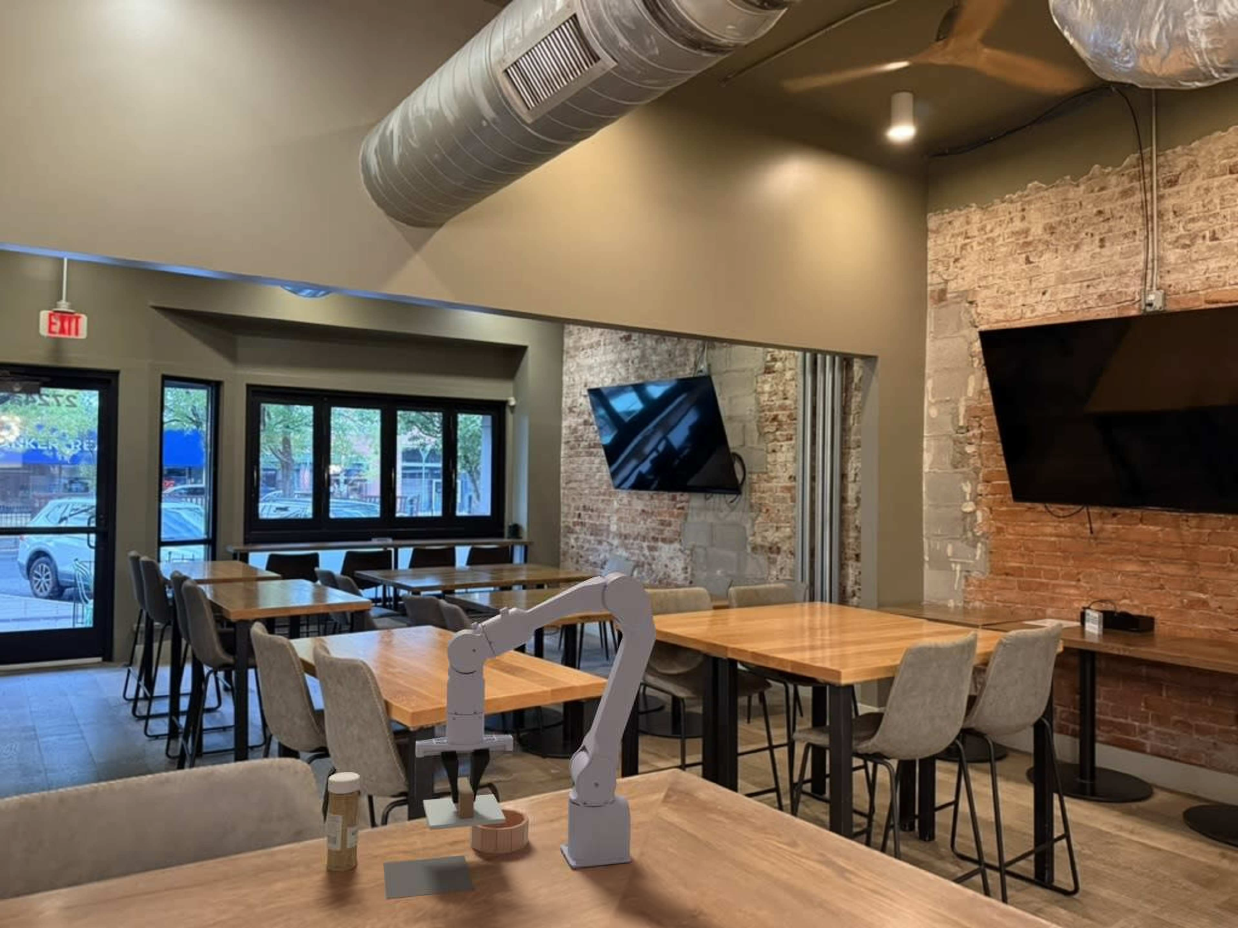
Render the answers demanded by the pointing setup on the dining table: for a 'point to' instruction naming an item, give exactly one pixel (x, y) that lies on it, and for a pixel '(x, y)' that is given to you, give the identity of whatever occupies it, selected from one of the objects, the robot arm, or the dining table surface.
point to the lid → (463, 809)
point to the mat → (427, 877)
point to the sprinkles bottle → (342, 821)
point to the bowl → (501, 834)
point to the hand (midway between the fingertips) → (463, 800)
